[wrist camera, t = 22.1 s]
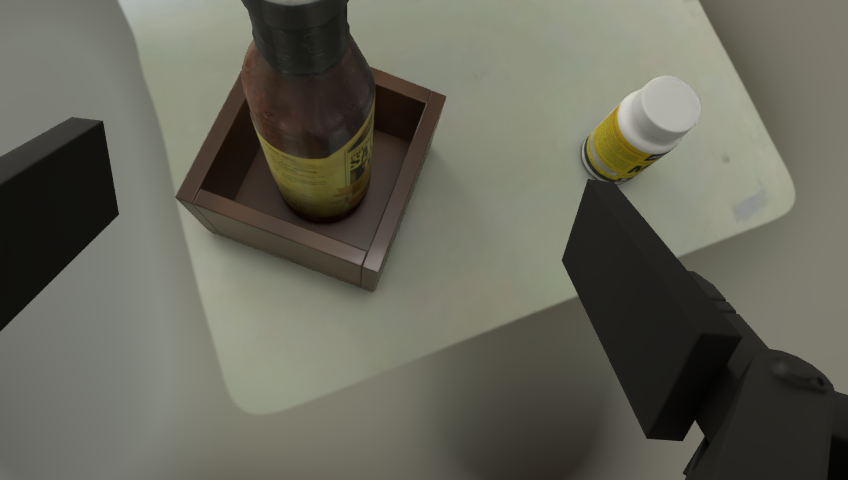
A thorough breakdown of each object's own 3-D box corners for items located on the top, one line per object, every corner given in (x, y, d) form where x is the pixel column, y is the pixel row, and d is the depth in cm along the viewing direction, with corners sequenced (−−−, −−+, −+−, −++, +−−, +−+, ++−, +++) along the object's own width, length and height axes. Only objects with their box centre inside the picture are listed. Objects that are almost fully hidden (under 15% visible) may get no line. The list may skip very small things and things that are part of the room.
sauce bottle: (371, 224, 36) (391, 54, 17) (278, 227, 35) (189, 51, 16) (367, 137, 38) (381, -108, 19) (278, 137, 37) (196, -118, 18)
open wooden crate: (431, 143, 39) (446, 95, 33) (374, 292, 36) (378, 273, 29) (279, 86, 39) (264, 25, 32) (208, 230, 36) (174, 197, 29)
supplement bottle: (612, 197, 40) (678, 153, 32) (568, 155, 41) (621, 100, 33) (649, 158, 41) (721, 106, 33) (605, 117, 42) (666, 56, 34)
